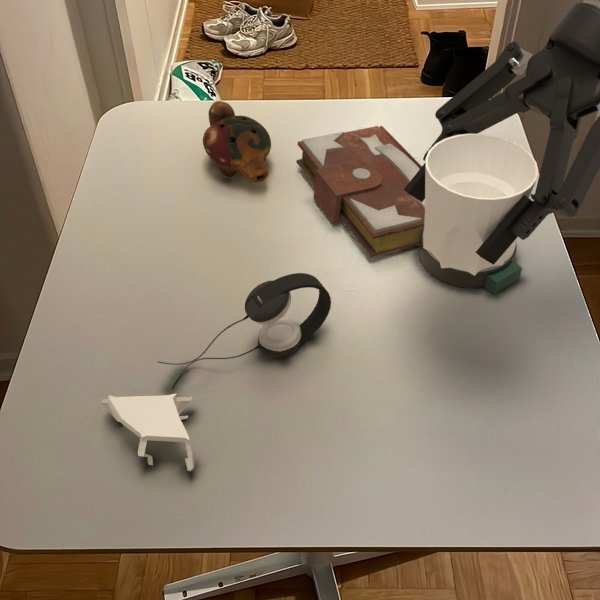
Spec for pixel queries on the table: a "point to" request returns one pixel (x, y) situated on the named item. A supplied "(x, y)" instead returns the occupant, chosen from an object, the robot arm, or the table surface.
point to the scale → (489, 277)
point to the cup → (472, 195)
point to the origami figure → (152, 420)
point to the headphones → (280, 315)
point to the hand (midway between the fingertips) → (447, 226)
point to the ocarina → (236, 143)
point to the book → (366, 187)
